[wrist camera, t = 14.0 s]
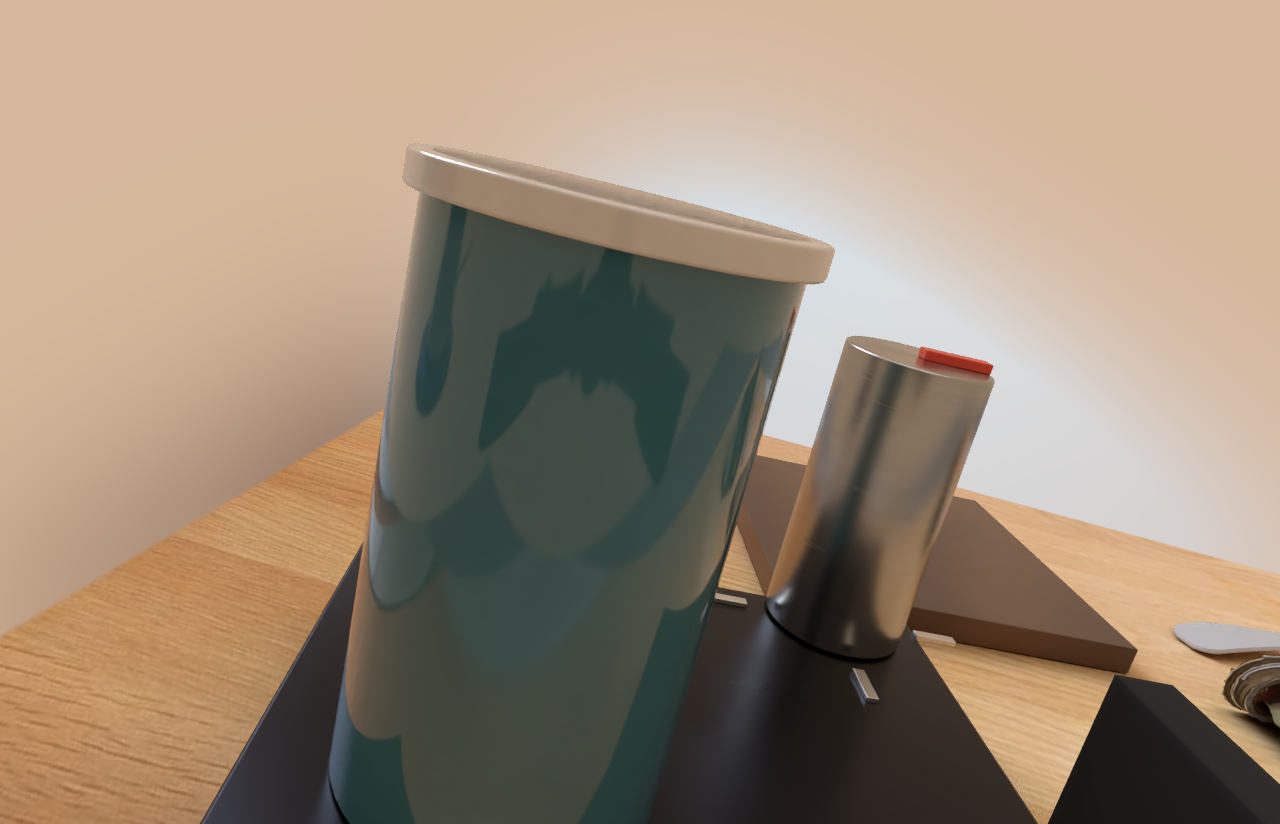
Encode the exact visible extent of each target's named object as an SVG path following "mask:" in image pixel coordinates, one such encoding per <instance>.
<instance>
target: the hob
mask: <svg viewBox="0 0 1280 824" xmlns="http://www.w3.org/2000/svg"><path fill="white" fill-rule="evenodd" d="M363 542H364V541H363ZM362 549H363V543H362V545H361V547H360V548H359V550H358V552H357V554H356V555H355V557H354V559H353V560H352V562H351V564H350V566H349V567H348V569H347V571H346V573H345V574H344V576H343V578H342V579H341V581H340V583H339V585H338V586H337V588H336V590H335V592H334V593H333V595H332V597H331V598H330V600H329V602H328V604H327V605H326V607H325V609H324V611H323V612H322V614H321V616H320V617H319V619H318V621H317V623H316V624H315V626H314V628H313V629H312V631H311V633H310V635H309V636H308V638H307V640H306V642H305V643H304V645H303V647H302V648H301V650H300V652H299V654H298V655H297V657H296V659H295V661H294V662H293V664H292V666H291V667H290V669H289V671H288V673H287V674H286V676H285V678H284V680H283V681H282V683H281V685H280V686H279V688H278V690H277V692H276V693H275V695H274V697H273V699H272V700H271V702H270V704H269V705H268V707H267V709H266V711H265V712H264V714H263V716H262V718H261V719H260V721H259V723H258V724H257V726H256V728H255V730H254V731H253V733H252V735H251V737H250V738H249V740H248V742H247V743H246V745H245V747H244V749H243V750H242V752H241V754H240V756H239V757H238V759H237V761H236V762H235V764H234V766H233V768H232V769H231V771H230V773H229V775H228V776H227V778H226V780H225V781H224V783H223V785H222V787H221V788H220V790H219V792H218V794H217V795H216V797H215V799H214V800H213V802H212V804H211V806H210V807H209V809H208V811H207V813H206V814H205V816H204V818H203V819H202V821H201V823H200V824H349V822H348V821H347V819H346V818H345V817H344V815H343V813H342V811H341V809H340V807H339V805H338V803H337V801H336V798H335V796H334V792H333V789H332V785H331V781H330V772H329V758H330V750H331V743H332V737H333V731H334V724H335V718H336V712H337V706H338V699H339V693H340V687H341V680H342V674H343V668H344V662H345V655H346V649H347V643H348V637H349V630H350V624H351V618H352V611H353V605H354V599H355V593H356V586H357V580H358V574H359V567H360V561H361V555H362ZM917 640H920V641H926V642H931V643H936V644H942V645H947V646H952V647H955V645H956V642H955V641H954V639H953V638H952V637H948V636H942V635H937V634H932V633H926V632H921V631H916V630H913V632H911V631H910V629H909V628H908V626H907V625H906V626H905V629H904V631H903V634H902V637H901V639H900V642H899V645H898V647H897V649H896V650H895V651H894V652H893V653H892V654H891V655H889V656H887V657H883V658H878V659H858V658H851V657H846V656H842V655H838V654H834V653H831V652H828V651H825V650H823V649H820V648H818V647H815V646H813V645H811V644H809V643H807V642H805V641H803V640H801V639H800V638H798V637H796V636H795V635H793V634H792V633H790V632H789V631H788V630H786V629H785V628H784V627H782V626H781V625H780V624H779V623H778V622H777V621H776V620H775V619H774V618H773V616H772V615H771V613H770V612H769V610H768V608H767V604H766V596H762V595H757V594H752V593H746V592H741V591H736V590H730V589H725V588H720V587H718V589H717V592H716V596H715V599H714V602H713V606H712V609H711V613H710V616H709V620H708V623H707V626H706V630H705V633H704V637H703V640H702V644H701V647H700V650H699V654H698V657H697V661H696V664H695V667H694V671H693V674H692V678H691V681H690V685H689V688H688V691H687V695H686V698H685V702H684V705H683V709H682V712H681V715H680V719H679V722H678V726H677V729H676V733H675V736H674V739H673V743H672V746H671V750H670V753H669V757H668V760H667V763H666V767H665V770H664V774H663V777H662V781H661V784H660V787H659V791H658V794H657V798H656V801H655V805H654V808H653V811H652V814H651V817H650V820H649V822H648V824H1038V823H1037V821H1036V820H1035V818H1034V817H1033V815H1032V814H1031V812H1030V811H1029V809H1028V808H1027V806H1026V805H1025V803H1024V802H1023V800H1022V799H1021V797H1020V796H1019V794H1018V793H1017V791H1016V790H1015V788H1014V787H1013V785H1012V784H1011V782H1010V781H1009V779H1008V778H1007V776H1006V775H1005V773H1004V772H1003V770H1002V768H1001V767H1000V765H999V764H998V762H997V761H996V759H995V758H994V756H993V755H992V753H991V752H990V750H989V749H988V747H987V746H986V744H985V743H984V741H983V740H982V738H981V737H980V735H979V734H978V732H977V731H976V729H975V728H974V726H973V725H972V723H971V722H970V720H969V719H968V717H967V716H966V714H965V713H964V711H963V710H962V708H961V707H960V705H959V703H958V702H957V700H956V699H955V697H954V696H953V694H952V693H951V691H950V690H949V688H948V687H947V685H946V684H945V682H944V681H943V679H942V678H941V676H940V675H939V673H938V672H937V670H936V669H935V667H934V666H933V664H932V663H931V661H930V660H929V658H928V657H927V655H926V654H925V652H924V651H923V649H922V648H921V646H920V645H919V643H918V642H917Z"/></svg>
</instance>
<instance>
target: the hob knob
mask: <svg viewBox="0 0 1280 824" xmlns="http://www.w3.org/2000/svg"><path fill="white" fill-rule="evenodd" d="M992 368H993V365H991V364H989V363H988V362H986V361H982V360H977V359H973V358H969V357H965V356H960V355H956V354H952V353H947V352H943V351H938V350H934V349H930V348H925V347H921V348H916V347H913V346H909V345H904V344H901V343H896V342H892V341H888V340H882V339H877V338H870V337H863V336H851V337H848V338H847V339H846V341H845V344H844V348H843V351H842V354H841V357H840V361H839V364H838V367H837V370H836V374H835V377H834V380H833V383H832V386H831V389H830V393H829V396H828V399H827V402H826V406H825V409H824V412H823V415H822V418H821V422H820V425H819V428H818V431H817V434H816V438H815V441H814V444H813V447H812V451H811V454H810V457H809V460H808V463H807V467H806V470H805V473H804V476H803V480H802V483H801V486H800V489H799V492H798V496H797V499H796V502H795V505H794V508H793V512H792V515H791V518H790V521H789V525H788V528H787V531H786V534H785V537H784V541H783V544H782V547H781V550H780V554H779V557H778V560H777V563H776V566H775V570H774V573H773V576H772V579H771V583H770V586H769V589H768V592H767V595H766V604H767V608H768V610H769V612H770V613H771V615H772V616H773V618H774V619H775V620H776V621H777V622H778V623H779V624H780V625H781V626H782V627H784V628H785V629H786V630H788V631H789V632H790V633H792V634H793V635H795V636H796V637H798V638H800V639H801V640H803V641H805V642H807V643H809V644H811V645H813V646H815V647H818V648H820V649H823V650H825V651H828V652H831V653H834V654H838V655H842V656H846V657H851V658H858V659H878V658H883V657H887V656H889V655H891V654H892V653H893V652H894V651H895V650H896V649H897V647H898V645H899V642H900V639H901V637H902V634H903V631H904V629H905V626H906V623H907V620H908V618H909V615H910V612H911V609H912V607H913V604H914V601H915V599H916V596H917V593H918V590H919V588H920V585H921V582H922V579H923V577H924V574H925V571H926V568H927V566H928V563H929V560H930V558H931V555H932V552H933V549H934V547H935V544H936V541H937V538H938V536H939V533H940V530H941V527H942V525H943V522H944V519H945V517H946V514H947V511H948V508H949V506H950V503H951V500H952V497H953V495H954V492H955V489H956V486H957V484H958V481H959V478H960V475H961V473H962V470H963V467H964V465H965V462H966V459H967V456H968V454H969V451H970V448H971V445H972V443H973V440H974V437H975V435H976V432H977V429H978V426H979V423H980V421H981V418H982V415H983V412H984V410H985V407H986V405H987V402H988V399H989V396H990V393H991V391H992V388H993V385H994V379H993V378H992V377H991V376H990V374H991V371H992Z"/></svg>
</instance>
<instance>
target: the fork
mask: <svg viewBox="0 0 1280 824" xmlns="http://www.w3.org/2000/svg"><path fill="white" fill-rule="evenodd" d="M1174 631H1175V634H1176V637H1177V638H1178V639H1180V640H1181V641H1182V642H1184V643H1185V644H1187V645H1188V646H1189V647H1191V648H1192V649H1194V650H1198V651H1201V652H1204V653H1210V654H1227V653H1239V652H1257V651H1280V633H1276V632H1270V631H1264V630H1258V629H1253V628H1247V627H1241V626H1235V625H1227V624H1218V623H1210V622H1194V623H1181V624H1177V625H1176V626H1175V628H1174Z"/></svg>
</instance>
